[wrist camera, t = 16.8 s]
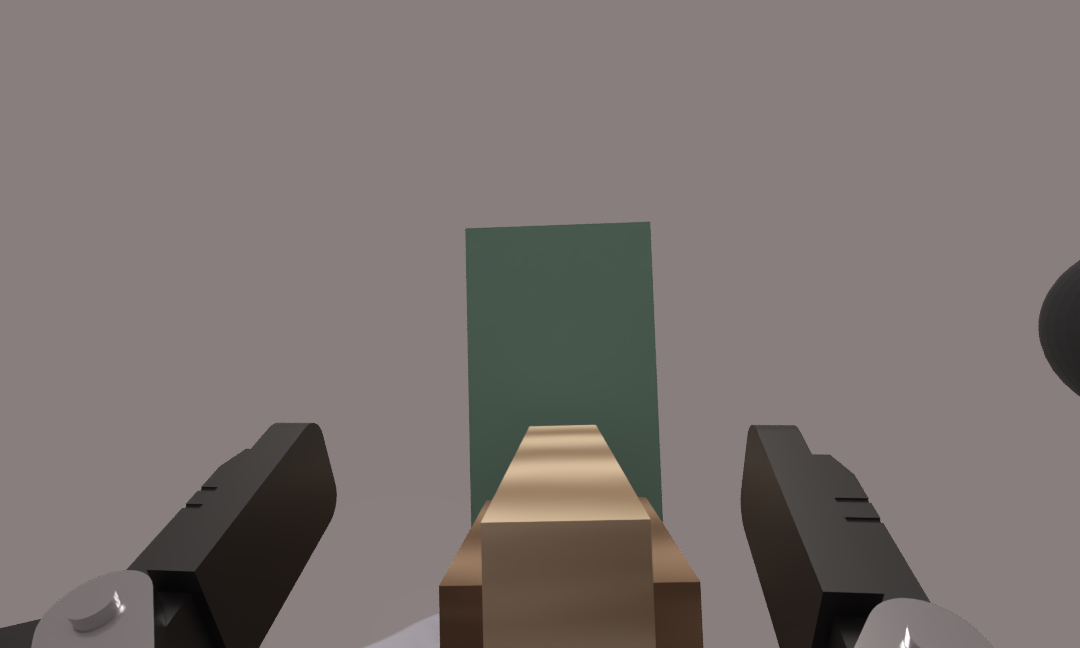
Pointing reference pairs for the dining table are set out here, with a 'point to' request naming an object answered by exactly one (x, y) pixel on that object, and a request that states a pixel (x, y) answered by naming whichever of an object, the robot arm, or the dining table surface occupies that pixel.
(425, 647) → the dining table surface
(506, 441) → the green stand
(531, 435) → the beech bar
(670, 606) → the walnut block
